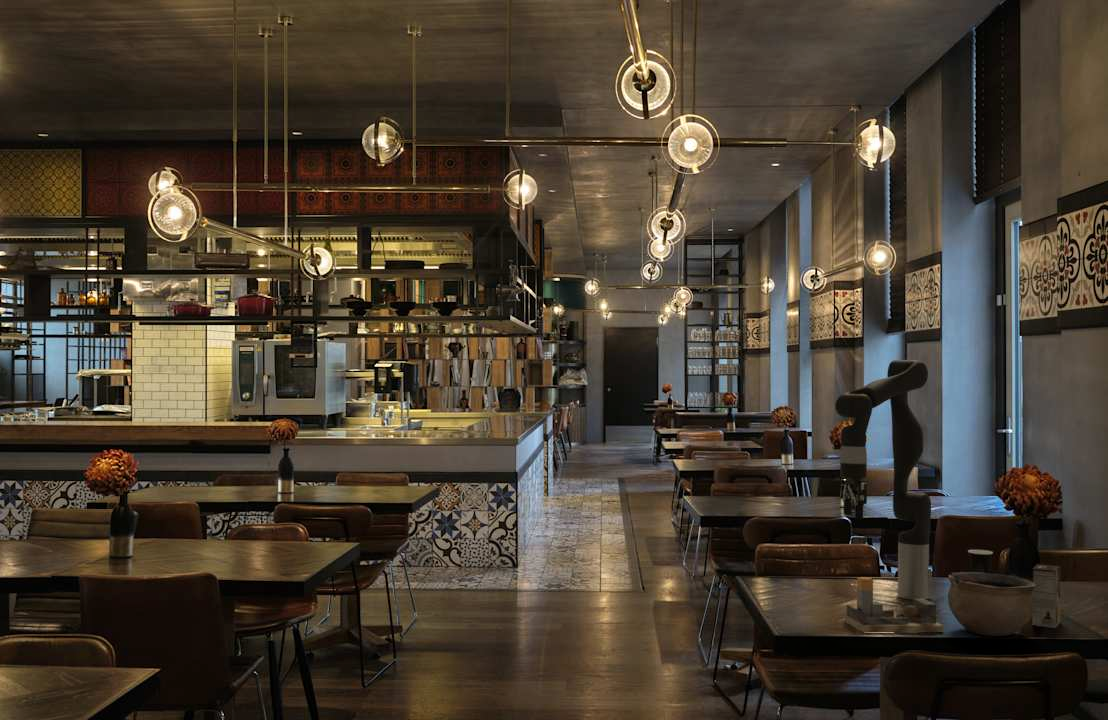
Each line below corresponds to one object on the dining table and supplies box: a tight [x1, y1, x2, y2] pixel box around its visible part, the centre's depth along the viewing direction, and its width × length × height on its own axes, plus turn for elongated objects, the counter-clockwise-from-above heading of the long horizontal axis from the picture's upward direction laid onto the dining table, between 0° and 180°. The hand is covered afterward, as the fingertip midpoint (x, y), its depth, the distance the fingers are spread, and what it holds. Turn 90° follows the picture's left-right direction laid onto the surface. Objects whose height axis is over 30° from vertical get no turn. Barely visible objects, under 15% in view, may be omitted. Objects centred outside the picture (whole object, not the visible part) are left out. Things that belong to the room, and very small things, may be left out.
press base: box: [844, 598, 944, 634], centre depth 286 cm, size 22×14×7 cm, turn 96°
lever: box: [856, 576, 884, 618], centre depth 285 cm, size 6×7×11 cm
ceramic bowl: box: [947, 571, 1036, 637], centre depth 280 cm, size 22×22×15 cm
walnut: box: [902, 604, 918, 618], centre depth 286 cm, size 4×4×4 cm
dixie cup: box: [967, 549, 994, 574], centre depth 352 cm, size 8×8×11 cm
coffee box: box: [1031, 563, 1061, 629], centre depth 292 cm, size 9×6×16 cm
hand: (853, 516), depth 305 cm, fingers open, 8 cm apart
